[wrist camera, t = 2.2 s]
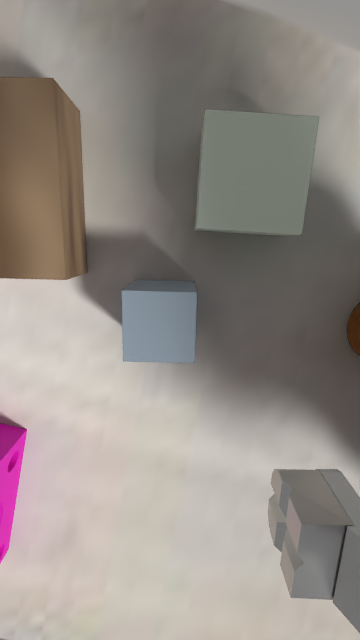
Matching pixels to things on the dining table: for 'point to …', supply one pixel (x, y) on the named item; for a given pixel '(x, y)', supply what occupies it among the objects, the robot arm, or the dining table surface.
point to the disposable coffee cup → (354, 330)
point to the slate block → (159, 321)
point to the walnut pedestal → (40, 182)
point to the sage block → (254, 172)
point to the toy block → (9, 478)
